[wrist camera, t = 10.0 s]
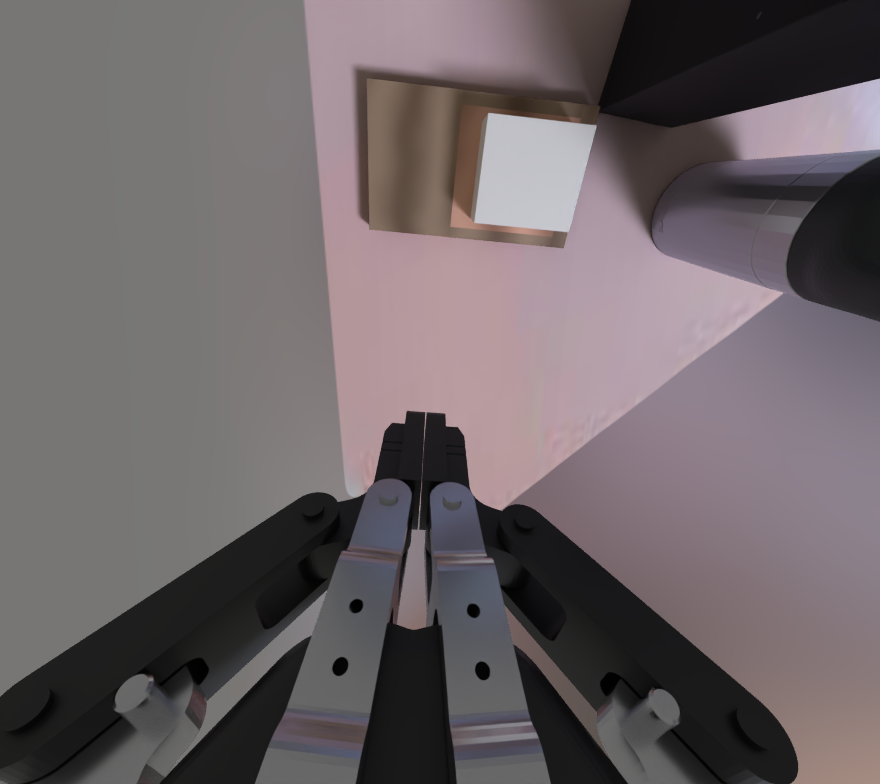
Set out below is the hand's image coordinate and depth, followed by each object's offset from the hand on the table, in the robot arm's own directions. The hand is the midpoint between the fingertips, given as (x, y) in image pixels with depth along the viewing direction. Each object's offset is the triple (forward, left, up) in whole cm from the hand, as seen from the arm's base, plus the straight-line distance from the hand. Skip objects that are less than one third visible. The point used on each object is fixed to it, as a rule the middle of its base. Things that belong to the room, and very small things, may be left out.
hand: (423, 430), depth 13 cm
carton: (-8, -10, -29) cm, 32 cm away
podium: (-4, -10, -31) cm, 33 cm away
